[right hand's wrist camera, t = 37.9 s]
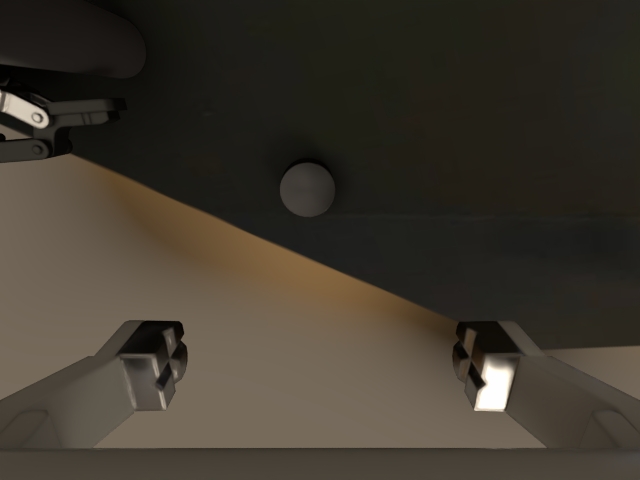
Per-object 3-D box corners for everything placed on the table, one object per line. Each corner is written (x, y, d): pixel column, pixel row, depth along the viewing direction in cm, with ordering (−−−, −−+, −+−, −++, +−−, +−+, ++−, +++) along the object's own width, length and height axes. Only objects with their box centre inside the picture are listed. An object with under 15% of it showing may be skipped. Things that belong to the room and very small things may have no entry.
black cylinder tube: (158, 57, 26) (-188, -43, 8) (117, 89, 27) (-289, 66, 9) (118, 2, 25) (-414, -276, 6) (76, 37, 26) (-512, -123, 7)
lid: (270, 184, 30) (268, 190, 28) (307, 146, 29) (307, 150, 27) (307, 219, 31) (307, 227, 29) (344, 184, 30) (347, 190, 28)
